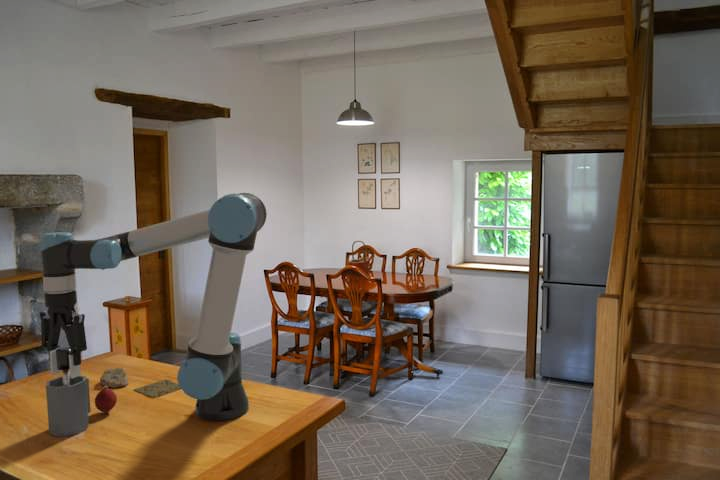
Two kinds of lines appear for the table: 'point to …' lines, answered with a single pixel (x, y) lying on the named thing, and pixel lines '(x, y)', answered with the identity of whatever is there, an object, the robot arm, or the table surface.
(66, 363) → the plunger
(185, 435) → the table surface
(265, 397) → the table surface
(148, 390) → the grey porous flat square
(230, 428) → the table surface
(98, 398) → the onion
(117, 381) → the rock
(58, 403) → the press carafe
